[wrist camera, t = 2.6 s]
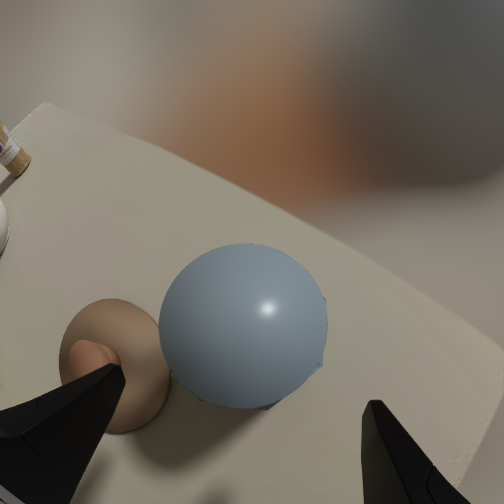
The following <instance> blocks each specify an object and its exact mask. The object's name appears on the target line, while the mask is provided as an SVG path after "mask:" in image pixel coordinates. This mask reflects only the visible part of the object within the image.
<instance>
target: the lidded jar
mask: <svg viewBox="0 0 504 504" xmlns="http://www.w3.org/2000/svg"><path fill="white" fill-rule="evenodd" d="M9 234H10V225H9V220H8V213H7V209H6V207H5V204H4V202H3V201H2V199H1V198H0V254H1V253H2V251H3V250H4V248H5V246H6V243H7V241H8V238H9Z"/></svg>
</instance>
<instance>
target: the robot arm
mask: <svg viewBox="0 0 504 504" xmlns="http://www.w3.org/2000/svg"><path fill="white" fill-rule="evenodd" d="M125 385H126V379H125V376H124V373H123V370H122V368H121V366H120V365H118V364H115V363H109V364H107V365H104V366H102V367H100V368H98V369H96V370H94V371H92V372H90V373H88V374H86V375H84V376H82V377H80V378H78V379H76V380H73V381H71V382H69V383H67V384H65V385H63V386H61V387H58V388H56V389H54V390H52V391H50V392H48V393H45V394H43V395H41V397H40V396H39V397H37V398H34V399H32V400H30V401H27V402H25V403H22V404H19V405H17V406H14V407H11V408H8V409H4V410H1V411H0V504H69V503H70V501H71V499H72V497H73V495H74V493H75V490H76V488H77V486H78V484H79V482H80V480H81V478H82V476H83V474H84V472H85V470H86V468H87V465H88V463H89V461H90V459H91V457H92V456H93V454H94V452H95V450H96V448H97V446H98V444H99V442H100V440H101V438H102V436H103V434H104V432H105V430H106V428H107V426H108V425H109V423H110V421H111V419H112V417H113V415H114V412H115V410H116V408H117V405H118V402H119V400H120V397H121V395H122V392H123V390H124V388H125ZM361 464H362V478H363V495H364V504H471V503H470V502H469V501H468V500H467V499H465V498H464V497H463V496H462V495H461V494H460V493H459V492H458V491H457V490H456V489H455V488H454V487H453V486H452V485H451V484H450V483H449V482H448V481H447V480H446V479H445V478H444V476H443V475H442V474H441V473H440V472H439V471H438V469H437V468H436V467H435V466H433V463H432V462H431V461H430V459H429V458H428V457H427V456H426V454H425V453H424V452H423V451H422V450H421V448H420V447H419V446H418V445H417V443H416V442H415V441H414V440H413V438H412V437H411V436H410V435H409V433H408V432H407V431H406V430H405V429H404V427H403V426H402V425H401V424H400V422H399V421H398V420H397V419H396V417H395V416H394V415H393V414H392V413H391V411H390V410H389V409H388V408H387V406H386V405H385V404H384V403H383V401H381V400H370V401H369V402H368V404H367V406H366V408H365V411H364V413H363V416H362V439H361Z"/></svg>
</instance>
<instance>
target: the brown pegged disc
mask: <svg viewBox="0 0 504 504" xmlns="http://www.w3.org/2000/svg"><path fill="white" fill-rule="evenodd" d="M109 363H115V364H118V365H120V366H121V368H122V370H123V373H124V376H125V379H126V385H125V388H124V390H123V392H122V395H121V397H120V400H119V402H118V405H117V408H116V410H115V412H114V415H113V417H112V419H111V421H110V423H109V425H108V426H107V428H106V430H105V431H110V432H126V431H131V430H135V429H137V428H140V427H142V426H144V425H145V424H147V423H148V422H149V421H151V420H152V419H153V418H154V417H155V416H156V415H157V414H158V412H159V411H160V409H161V408H162V406H163V405H164V402H165V400H166V398H167V395H168V392H169V388H170V383H171V370H170V368H169V366H168V364H167V362H166V360H165V358H164V355H163V352H162V349H161V345H160V338H159V326H158V325H157V324H156V322H155V321H154V320H153V319H152V318H151V317H150V316H149V315H148V314H147V313H146V312H145V311H143V310H142V309H141V308H139V307H137V306H135V305H134V304H132V303H130V302H127V301H124V300H120V299H103V300H99V301H96V302H94V303H91V304H89V305H88V306H86V307H85V308H83V309H82V310H81V311H80V312H79V313H78V314H77V315H76V316H75V317H74V318H73V320H72V321H71V322H70V324H69V326H68V328H67V329H66V332H65V334H64V336H63V340H62V343H61V347H60V354H59V370H60V377H61V382H62V385H65V384H67V383H69V382H71V381H73V380H76V379H78V378H80V377H82V376H84V375H86V374H88V373H90V372H92V371H94V370H96V369H98V368H100V367H102V366H104V365H107V364H109Z"/></svg>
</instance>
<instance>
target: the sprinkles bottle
mask: <svg viewBox="0 0 504 504" xmlns="http://www.w3.org/2000/svg"><path fill="white" fill-rule="evenodd" d="M30 159H31V158H30V156H29V155H27V153H26V152H25V151H24V150H23V149H22V147H21V146H20V144H19V143H18V142H17V141H16V139H15V138H14V137H13V136H12V135H11V133H10V132H9V131H8V129H7V128H6V127H5V126H4V125H3V123H2V122H1V121H0V163H1V164H2V165H3V166H4V167H5V168H6V169H7V170H8V171H9V172H10V173H11V174H12V176H13V177H18V176H19V175H21V174H22V173H23V172H24V171H25V169H26V168H27V167H28V165H29V163H30Z"/></svg>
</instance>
